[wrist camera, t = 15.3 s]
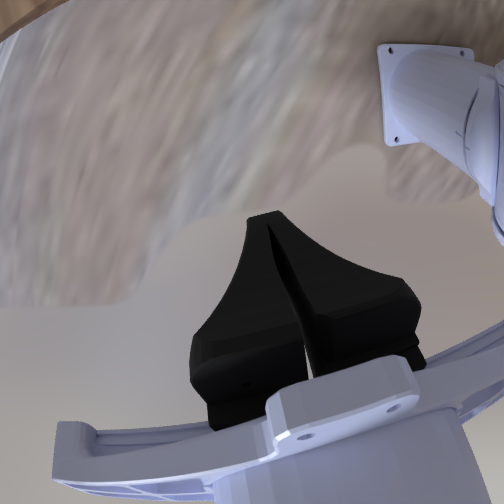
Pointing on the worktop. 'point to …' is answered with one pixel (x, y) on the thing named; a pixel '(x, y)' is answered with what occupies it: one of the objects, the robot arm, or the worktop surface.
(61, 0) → the walnut domino
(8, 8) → the walnut domino
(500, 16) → the worktop surface
